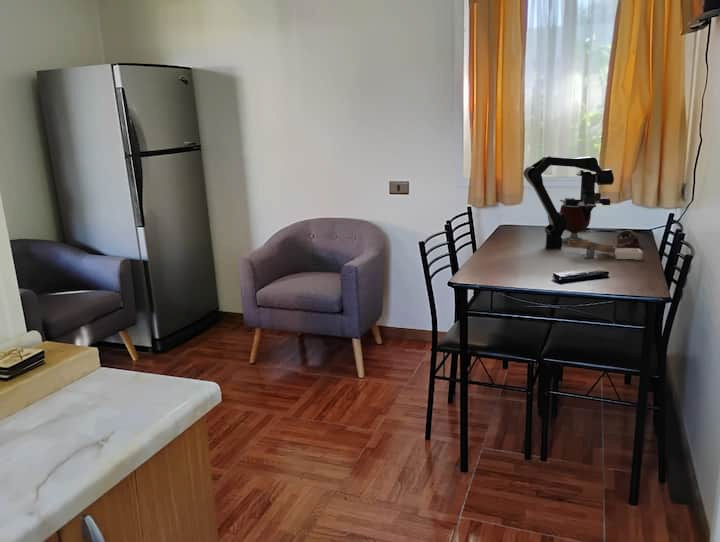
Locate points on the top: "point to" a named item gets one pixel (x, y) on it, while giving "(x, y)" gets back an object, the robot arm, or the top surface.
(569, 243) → the tan flat board
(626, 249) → the dish
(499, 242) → the top surface
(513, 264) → the top surface
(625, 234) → the pottery mug
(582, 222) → the mate gourd
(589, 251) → the fulcrum
